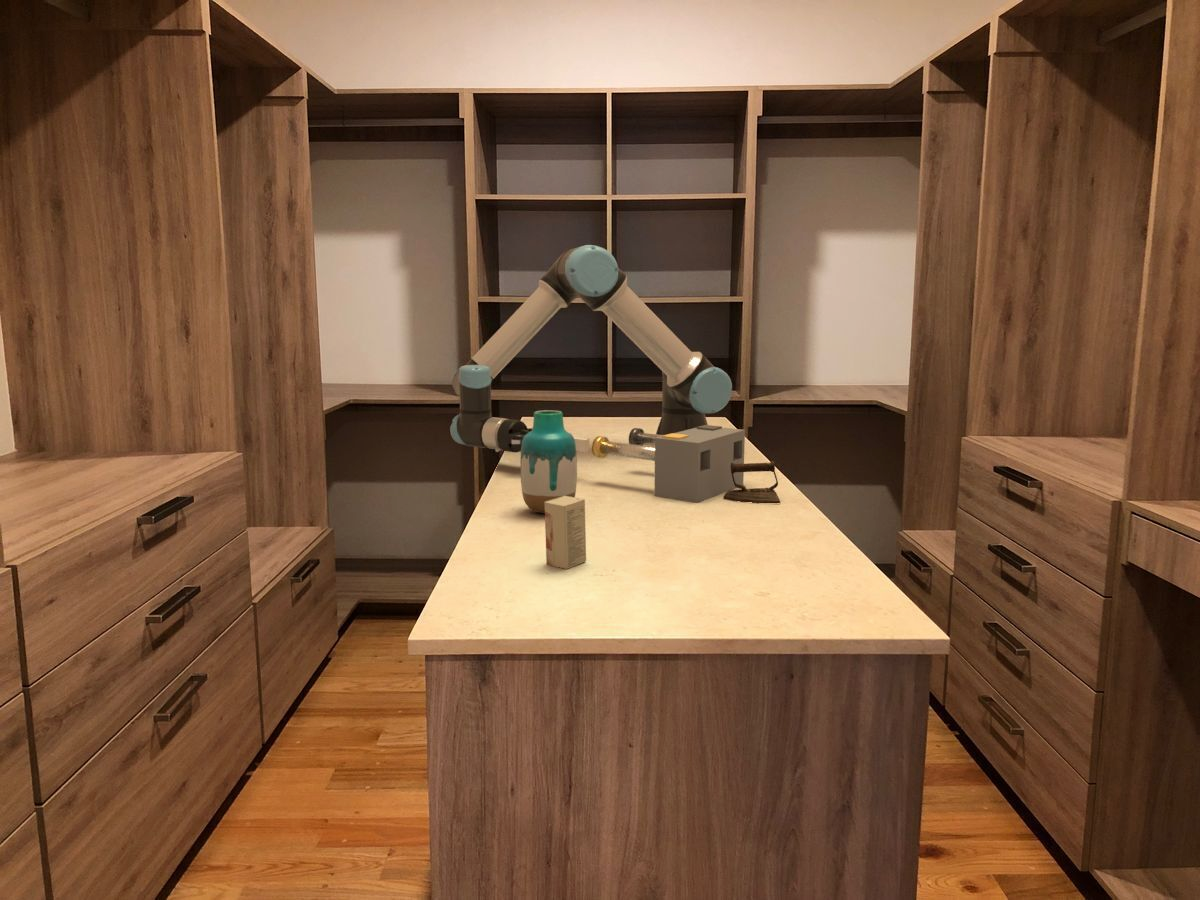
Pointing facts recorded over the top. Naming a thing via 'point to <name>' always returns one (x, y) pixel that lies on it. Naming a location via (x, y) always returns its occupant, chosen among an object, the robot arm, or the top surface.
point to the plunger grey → (642, 437)
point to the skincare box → (565, 531)
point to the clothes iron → (756, 493)
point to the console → (698, 462)
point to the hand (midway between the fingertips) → (586, 445)
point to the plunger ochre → (621, 449)
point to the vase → (547, 461)
